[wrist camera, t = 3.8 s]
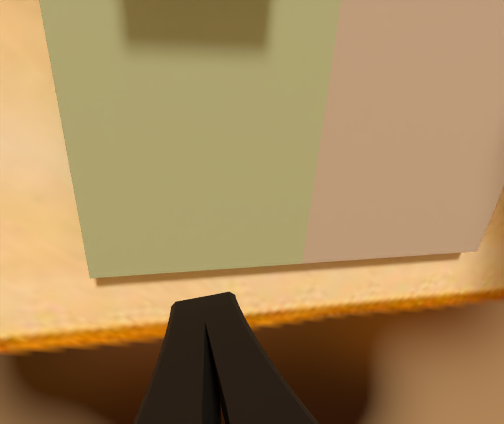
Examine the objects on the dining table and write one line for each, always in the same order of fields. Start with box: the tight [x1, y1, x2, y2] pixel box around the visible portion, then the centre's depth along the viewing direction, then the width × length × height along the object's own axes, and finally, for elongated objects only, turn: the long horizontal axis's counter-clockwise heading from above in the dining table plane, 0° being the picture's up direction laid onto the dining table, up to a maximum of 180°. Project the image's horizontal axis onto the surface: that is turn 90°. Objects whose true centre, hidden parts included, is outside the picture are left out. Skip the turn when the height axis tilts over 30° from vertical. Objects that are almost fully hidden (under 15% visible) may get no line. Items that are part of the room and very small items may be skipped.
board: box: [39, 0, 504, 278], centre depth 15 cm, size 20×22×1 cm
